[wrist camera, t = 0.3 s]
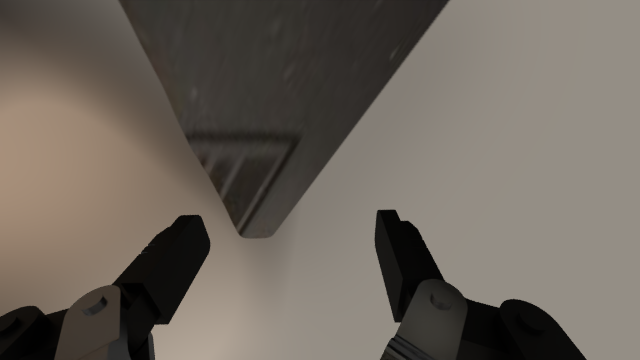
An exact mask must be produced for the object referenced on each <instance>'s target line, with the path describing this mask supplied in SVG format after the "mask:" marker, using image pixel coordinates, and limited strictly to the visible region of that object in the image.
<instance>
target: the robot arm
mask: <svg viewBox="0 0 640 360" xmlns="http://www.w3.org/2000/svg"><path fill="white" fill-rule="evenodd" d="M375 248H376V252H377V256H378V260H379V264H380V268H381V271H382V275H383V279H384V283H385V287H386V291H387V295H388V298H389V302H390V306H391V310H392V313H393V318H394V321H395V322H401V324H400V326H399V328H398V331H397V333H396V335H395V336H394V338H391V340H390V341H389V343H388V345H387V347H386V349H385V350H384V353H383V355H382V357H381V359H380V360H586V358H585V357H584V356H583V354H582V353H581V352H580V351H579V349H578V348H577V347H576V346H575V344H574V343H573V342H572V341H571V339H570V338H569V337H568V336H567V334H566V333H565V332H564V331H563V329H562V328H561V327H560V326H559V324H558V323H557V322H556V321H555V320H554V319H553V318H552V317H551V316H550V315H549V314H547V313H546V312H545V311H543V310H542V309H540V308H539V307H537V306H535V305H533V304H531V303H528V302H526V301H522V300H516V299H510V300H506V301H504V302H503V303H502V304H501V306H500V308H498V307H493V306H490V305H486V304H483V303H479V302H475V301H472V300H469V299H466V298H465V297H464V296H463V295H462V294H461V293H460V292H459V290H458V289H456V288H455V287H454V286H452V285H451V284H449V283H447V282H445V280H444V279H443V276H442V274H441V273H440V271H439V269H438V267H437V265H436V263H435V261H434V259H433V257H432V255H431V254H430V252H429V250H428V248H427V246H426V244H425V242H424V240H422V236H421V235H420V233H419V231H418V229H417V228H416V227H415V226H413V224H411V223H410V222H409V221H400V218H399V216H398V214H397V212H396V210H378V211H377V217H376V228H375ZM209 251H210V239H209V237H208V234H207V231H206V228H205V226H204V223H203V220H202V218H201V216H199V215H181V216H179V217H178V218H177V219H176V220H175V222H174V223H173V224H172V225H171V226H170V227H168V228H166V229H165V230H164V231H162V232H160V233H159V234H157V235H156V236H155V237H154V239H153V240H152V241H151V242H150V243H149V244H148V246H147V247H145V248H144V250H143V251H142V252H141V254H139V255H138V256H137V257H136V258H135V260H134V261H133V262H132V263H131V264H130V265H129V266H128V267H127V268H126V269H125V271H124V272H123V273H122V274H121V275H120V276H119V277H118V278H117V280H116V281H115V282H114V283H113V284H112V285H108V286H103V287H100V288H97V289H95V290H93V291H91V292H89V293H87V294H85V295H84V296H82V297H81V298H80V299H79V300H77V301H76V302H75V303H74V304H73V305H72V306H71V307H70V308H69V309H65V310H62V311H58V312H54V313H51V314H47V315H45V314H44V313H43V312H42V311H41V310H39V308H37V307H36V306H26V307H21V308H18V309H16V310H13V311H11V312H9V313H7V314H5V315H3V316H1V317H0V360H155V355H154V344H153V336H152V334H151V330H152V328H153V327H154V325H159V324H169V322H170V320H171V319H172V317H173V315H174V313H175V311H176V310H177V308H178V306H179V305H180V303H181V301H182V299H183V298H184V296H185V294H186V292H187V291H188V289H189V287H190V285H191V283H192V282H193V280H194V278H195V276H196V275H197V273H198V271H199V269H200V267H201V266H202V264H203V262H204V261H205V259H206V257H207V255H208V253H209Z"/></svg>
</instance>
